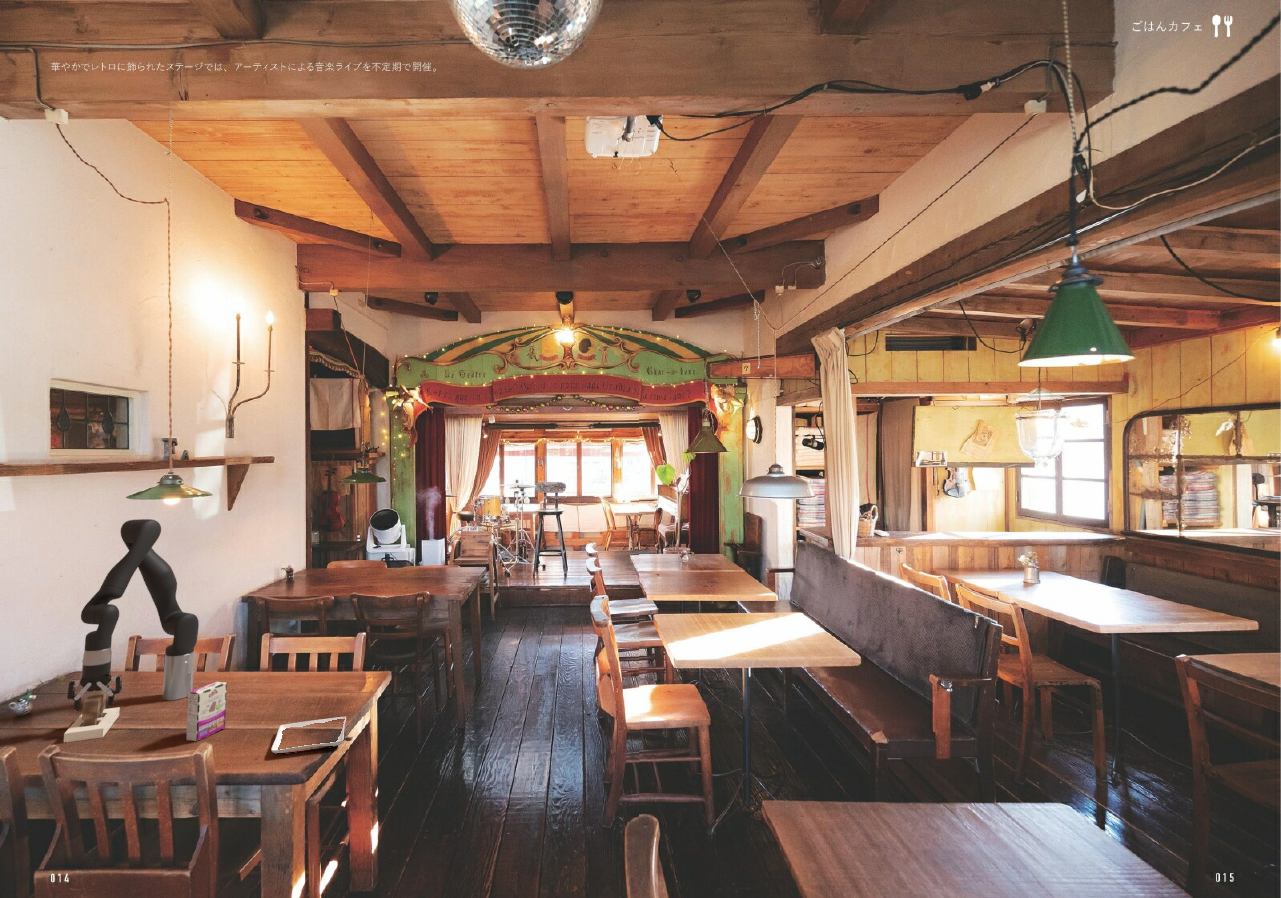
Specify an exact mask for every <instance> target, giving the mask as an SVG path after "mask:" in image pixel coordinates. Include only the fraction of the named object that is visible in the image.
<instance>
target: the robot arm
mask: <svg viewBox="0 0 1281 898" xmlns="http://www.w3.org/2000/svg"><path fill="white" fill-rule="evenodd" d="M161 532H162V525H161V523H159V521H157V520H155V519H150V518H143V519H142V518H141V519H129V520H126V521H125V522H124V523H123V524H122V526H121V528H120V537H121V539H122V542H123V543H124V545H125V546H126V548H127V549H128V552H127V553H126V554H125V555H124V556H123V557H122V558H121V559H120V560H119V561H118V562H117V563H116V564H115V565H114V566H113V567H112V568H111V569H110V570H109V572H108V573H106V574H107V575H106V576H105V578H104V579H103V582H102V583H101V586H100V588H99V590H97V592H96V593H95V594H94V595H93V596H92V597H91V598H90V600H89V601H87V603H86V604H85V605H84V606H83V608H82V610H81V613H80V620H81V622H82V623H84V624H86V625H96V626H97V628H96V630H93V631H90V632H88V633H87V634H86V635H85V639H84V651H83V656H82V661H81V662H82V668H81V671H82V672H81V679H78V680H76V679H72V680H70V681H69V683H68V690H67V697H66V698H67V700H73V701H74V703H73V709H74V710H76V712H78V711H80V710H81V709H82V699H83V698H82V696H83V695H84V694H85V692H88V693H93V692H101V691H102V692H103V691H104V692H106V695H108V697H107V708H110V707H112V705H114V703H115V695H118V694H120V693H121V692H122V690H123V675H122V674H118V675H114V676H112V675H111V672H112V671H111V670H112V669H111V668H112V655H113V654H112V653H113V652H112V640H113V638H112V637H113V633H114V631H115V628H116V626H117V624H118V621H119V617H120V610H119V608H118V607H117V605H115V604H112V603H111V604H109V603H110V602H111V601H114V600H118V599H120V598H122V597H123V595H124V594H125V591H126V590H127V588H128V586H129V584H130V581H131V580H132V578H133V576H134V574H135V573H136V571H137V569H138V571H139V572H140V575H141V576H142V580H143V582H144V584H145V586H146V588H147V590H148V592H149V594H150V595H149V596H150V597H151V599H152V602H153V603H154V606H155V608H156V612H157V614H158V618H159V622H160V625H161V628H162V630H163V632H164V633H165V634H167V635H169V636H173V640H172V644H170V645H168V646H166V647H165V652H164V665H163V667H164V670H163V682H162V683H163V684H162V699H163V700H165V701H177V700H180V699H181V700H182V699H185V698H188V692H191V691H193V690H194V689H193V687H194V673H195V672H194V656H195V647H196V644H197V642H198V636H199V635H198V634H199V623H200V621H199V619H198V616H197V615H195V614H194V613H190V612H184V611H183V610H182V609H181V607H180V606H179V603H178V600H177V597H176V596H177V589H178V582H177V578H176V575H175V573H174V570H173V569H172V567H171V565H170V564H169V563H168V562H167V561H166V560H165V559H163V558H162V557H161V556H160V555H159V553H157V552H156V551H155V550H154V549H153V547H154V545H155V544H156V542H158V541H157V540H158V539H159V538H160V535H161ZM111 681H112V683H115V689H114V688H113V687H112V686H111V685H110V682H111ZM78 685H80V686H81V687H82V689H81V690H80V691H79V692H78V694H77V693H76V694H75V692H76V687H78Z"/></svg>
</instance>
